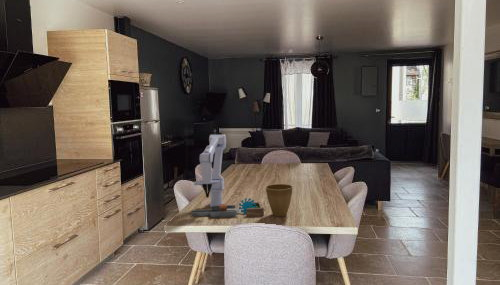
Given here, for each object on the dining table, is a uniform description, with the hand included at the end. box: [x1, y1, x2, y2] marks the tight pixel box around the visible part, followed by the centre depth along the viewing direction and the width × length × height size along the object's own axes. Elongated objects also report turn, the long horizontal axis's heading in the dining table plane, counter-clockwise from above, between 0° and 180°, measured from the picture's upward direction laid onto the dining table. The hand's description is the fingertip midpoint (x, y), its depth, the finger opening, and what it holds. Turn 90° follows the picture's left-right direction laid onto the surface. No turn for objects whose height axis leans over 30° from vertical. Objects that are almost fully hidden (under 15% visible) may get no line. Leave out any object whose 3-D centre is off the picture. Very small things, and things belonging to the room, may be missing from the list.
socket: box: [190, 204, 237, 219], centre depth 213 cm, size 14×25×3 cm, turn 95°
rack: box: [246, 201, 265, 217], centre depth 215 cm, size 14×10×4 cm
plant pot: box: [265, 183, 293, 217], centre depth 209 cm, size 15×15×16 cm
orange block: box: [220, 202, 240, 215], centre depth 214 cm, size 4×11×5 cm, turn 95°
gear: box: [238, 197, 258, 215], centre depth 216 cm, size 11×6×10 cm
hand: (207, 197), depth 215 cm, fingers closed
